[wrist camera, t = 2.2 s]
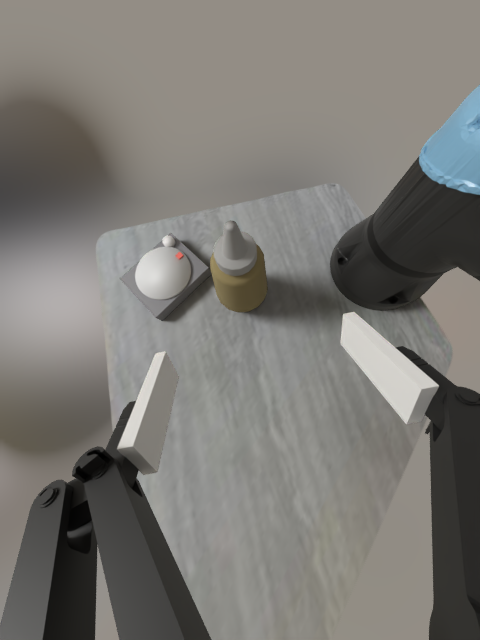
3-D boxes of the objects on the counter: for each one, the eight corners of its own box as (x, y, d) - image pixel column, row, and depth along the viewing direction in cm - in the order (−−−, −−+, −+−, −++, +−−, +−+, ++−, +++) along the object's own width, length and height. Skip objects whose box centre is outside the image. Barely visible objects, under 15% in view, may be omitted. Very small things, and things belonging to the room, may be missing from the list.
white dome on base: (175, 240, 39) (168, 229, 36) (211, 273, 37) (207, 265, 33) (128, 284, 37) (116, 276, 34) (162, 320, 35) (153, 316, 32)
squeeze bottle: (215, 280, 36) (177, 202, 19) (258, 268, 36) (262, 177, 19) (226, 323, 34) (196, 280, 17) (272, 310, 34) (289, 253, 17)
